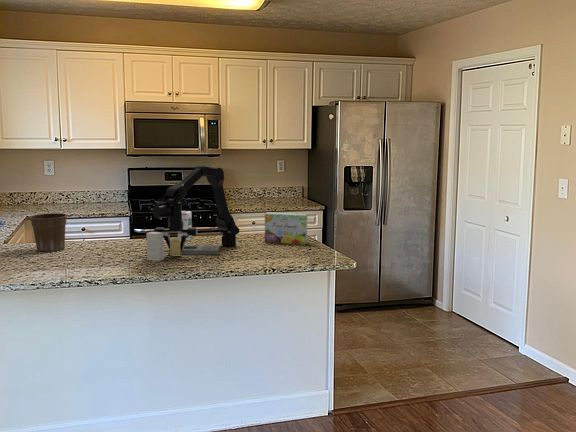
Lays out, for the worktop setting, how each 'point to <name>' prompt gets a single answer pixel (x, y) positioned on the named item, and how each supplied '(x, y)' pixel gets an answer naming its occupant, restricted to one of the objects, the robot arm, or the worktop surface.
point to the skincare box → (155, 246)
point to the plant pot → (49, 231)
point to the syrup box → (186, 222)
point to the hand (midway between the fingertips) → (176, 250)
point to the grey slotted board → (200, 250)
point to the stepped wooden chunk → (175, 247)
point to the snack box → (286, 228)
